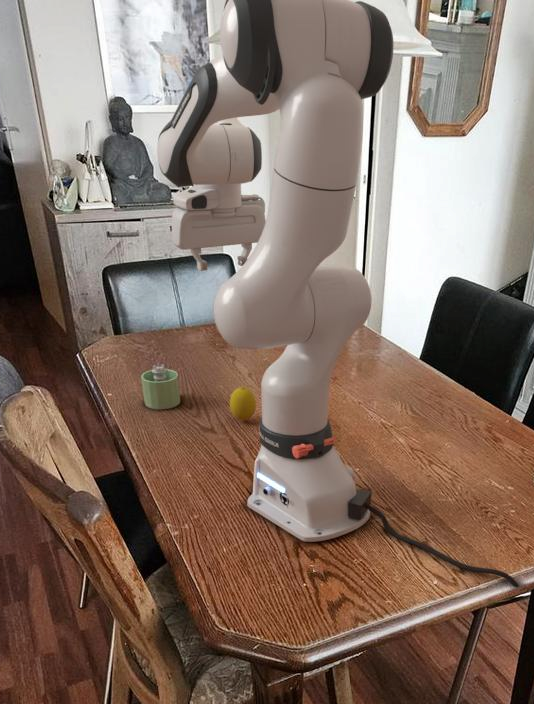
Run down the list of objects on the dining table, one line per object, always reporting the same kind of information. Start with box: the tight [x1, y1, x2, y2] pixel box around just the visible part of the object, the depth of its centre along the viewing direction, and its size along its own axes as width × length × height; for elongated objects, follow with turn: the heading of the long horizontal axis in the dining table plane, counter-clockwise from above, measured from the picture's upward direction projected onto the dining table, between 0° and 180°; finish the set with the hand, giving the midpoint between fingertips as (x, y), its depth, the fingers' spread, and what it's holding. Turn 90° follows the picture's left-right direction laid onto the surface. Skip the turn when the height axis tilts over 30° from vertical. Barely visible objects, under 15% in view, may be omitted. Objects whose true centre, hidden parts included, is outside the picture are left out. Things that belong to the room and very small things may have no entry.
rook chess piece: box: [151, 363, 168, 382], centre depth 141 cm, size 4×4×8 cm
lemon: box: [229, 386, 257, 422], centre depth 135 cm, size 6×6×8 cm
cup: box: [140, 368, 181, 410], centre depth 142 cm, size 8×8×6 cm
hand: (222, 267), depth 133 cm, fingers open, 8 cm apart
